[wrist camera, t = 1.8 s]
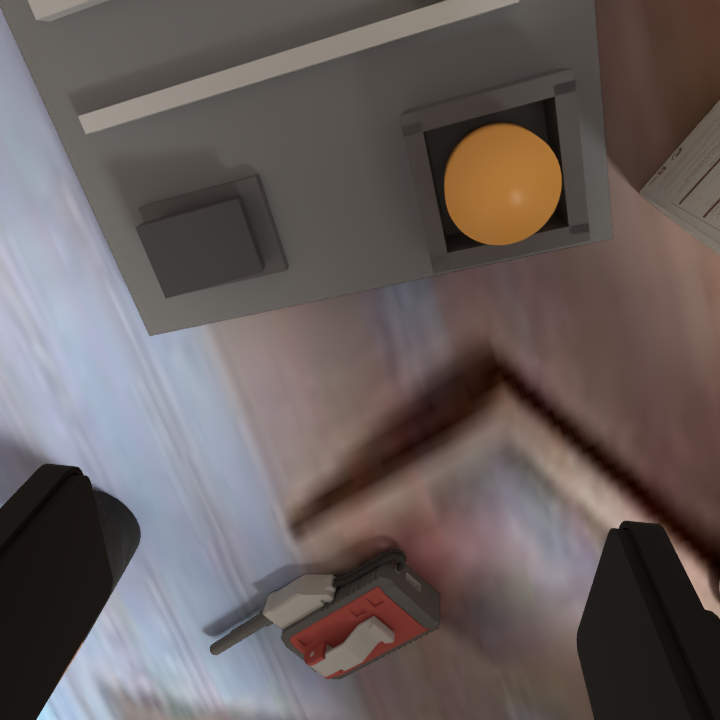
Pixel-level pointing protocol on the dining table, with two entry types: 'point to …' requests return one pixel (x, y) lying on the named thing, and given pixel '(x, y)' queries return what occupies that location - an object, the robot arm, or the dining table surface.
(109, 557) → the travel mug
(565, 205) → the panel
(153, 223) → the black rocker
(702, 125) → the supplement box
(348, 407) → the dining table surface
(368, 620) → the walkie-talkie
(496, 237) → the orange button
